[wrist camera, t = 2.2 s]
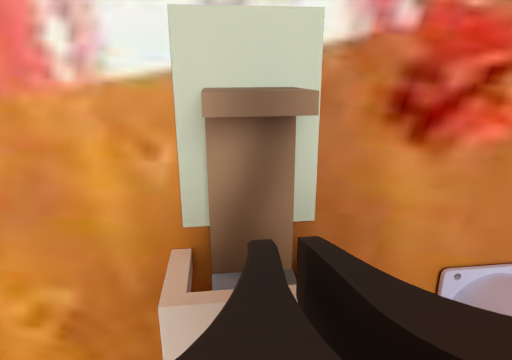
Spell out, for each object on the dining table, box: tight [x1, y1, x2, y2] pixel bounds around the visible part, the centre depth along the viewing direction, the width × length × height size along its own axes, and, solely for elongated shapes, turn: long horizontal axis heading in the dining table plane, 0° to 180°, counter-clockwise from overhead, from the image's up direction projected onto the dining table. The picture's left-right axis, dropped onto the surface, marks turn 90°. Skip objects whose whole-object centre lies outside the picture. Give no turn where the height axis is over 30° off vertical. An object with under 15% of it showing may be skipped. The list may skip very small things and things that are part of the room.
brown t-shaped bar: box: [201, 87, 319, 291], centre depth 19 cm, size 5×17×5 cm, turn 0°
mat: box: [167, 4, 324, 227], centre depth 20 cm, size 8×12×1 cm, turn 0°
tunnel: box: [158, 248, 298, 360], centre depth 20 cm, size 10×7×6 cm
